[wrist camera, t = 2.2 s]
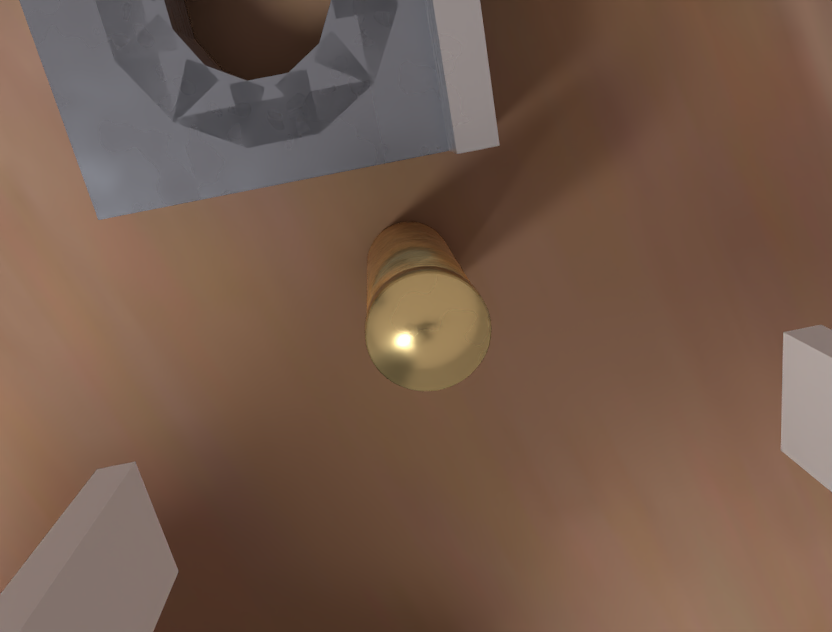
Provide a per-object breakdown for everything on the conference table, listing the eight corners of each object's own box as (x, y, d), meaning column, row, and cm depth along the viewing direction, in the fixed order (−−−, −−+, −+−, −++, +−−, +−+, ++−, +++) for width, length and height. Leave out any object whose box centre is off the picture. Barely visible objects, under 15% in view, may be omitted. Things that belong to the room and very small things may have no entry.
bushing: (375, 311, 29) (379, 403, 20) (357, 230, 28) (352, 286, 19) (457, 295, 29) (500, 378, 20) (443, 212, 28) (481, 261, 19)
